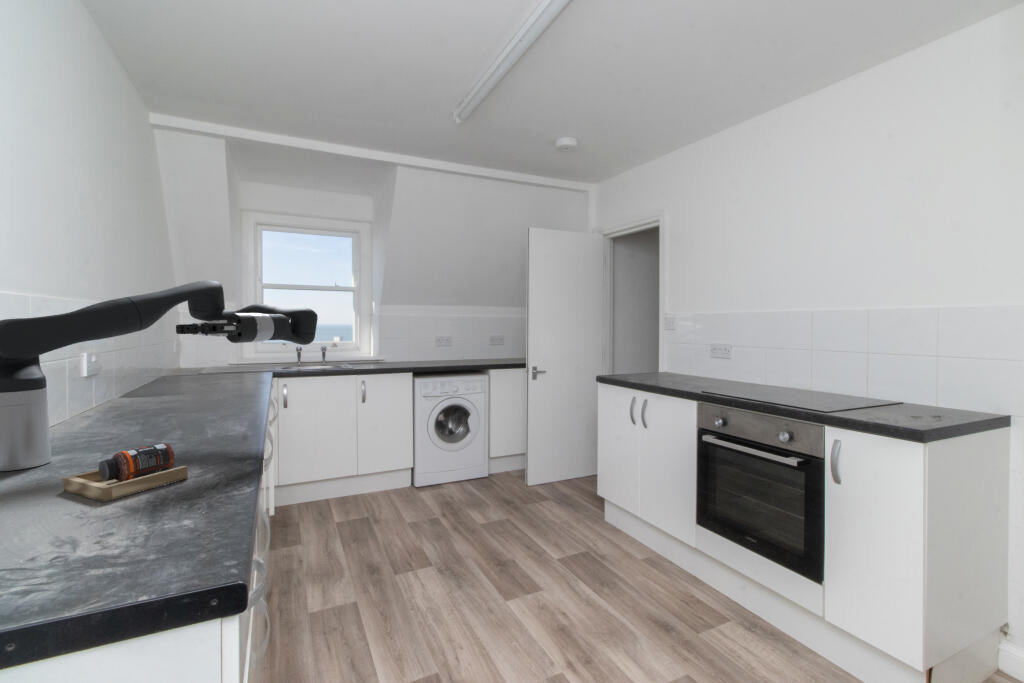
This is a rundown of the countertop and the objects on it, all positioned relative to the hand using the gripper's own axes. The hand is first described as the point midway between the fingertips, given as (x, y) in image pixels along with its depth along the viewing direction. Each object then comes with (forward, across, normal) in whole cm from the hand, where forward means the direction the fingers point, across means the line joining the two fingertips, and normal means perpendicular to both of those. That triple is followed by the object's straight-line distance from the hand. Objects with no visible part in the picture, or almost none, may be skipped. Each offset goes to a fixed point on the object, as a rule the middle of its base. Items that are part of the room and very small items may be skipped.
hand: (178, 329), depth 110 cm
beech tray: (+14, +7, +30) cm, 34 cm away
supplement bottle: (+6, +6, +26) cm, 28 cm away
